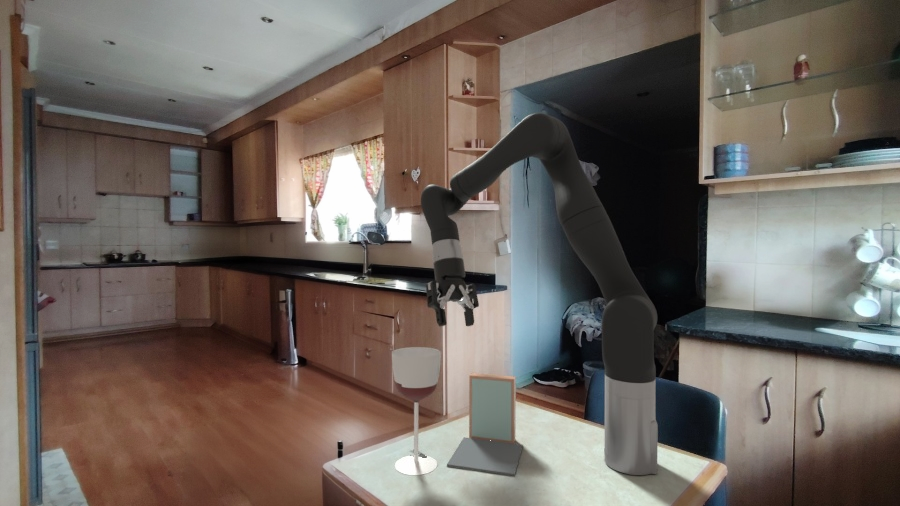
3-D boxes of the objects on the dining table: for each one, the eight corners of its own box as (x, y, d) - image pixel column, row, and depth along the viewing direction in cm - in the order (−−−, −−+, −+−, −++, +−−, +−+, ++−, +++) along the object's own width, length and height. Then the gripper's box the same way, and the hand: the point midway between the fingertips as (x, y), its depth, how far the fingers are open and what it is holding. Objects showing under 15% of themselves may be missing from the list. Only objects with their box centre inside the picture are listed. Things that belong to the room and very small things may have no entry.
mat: (522, 446, 95) (522, 444, 95) (514, 476, 82) (514, 473, 82) (463, 439, 98) (463, 437, 98) (447, 466, 86) (447, 464, 86)
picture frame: (515, 439, 98) (515, 376, 98) (513, 444, 96) (514, 379, 96) (471, 434, 101) (471, 372, 101) (469, 438, 99) (469, 375, 99)
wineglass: (439, 476, 82) (440, 357, 82) (388, 475, 82) (388, 356, 82) (441, 454, 91) (441, 347, 91) (394, 453, 91) (395, 346, 91)
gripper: (434, 253, 103) (443, 322, 98) (479, 258, 112) (489, 322, 107) (416, 262, 108) (423, 329, 103) (460, 267, 117) (468, 328, 112)
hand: (456, 325), depth 105 cm, fingers open, 8 cm apart
